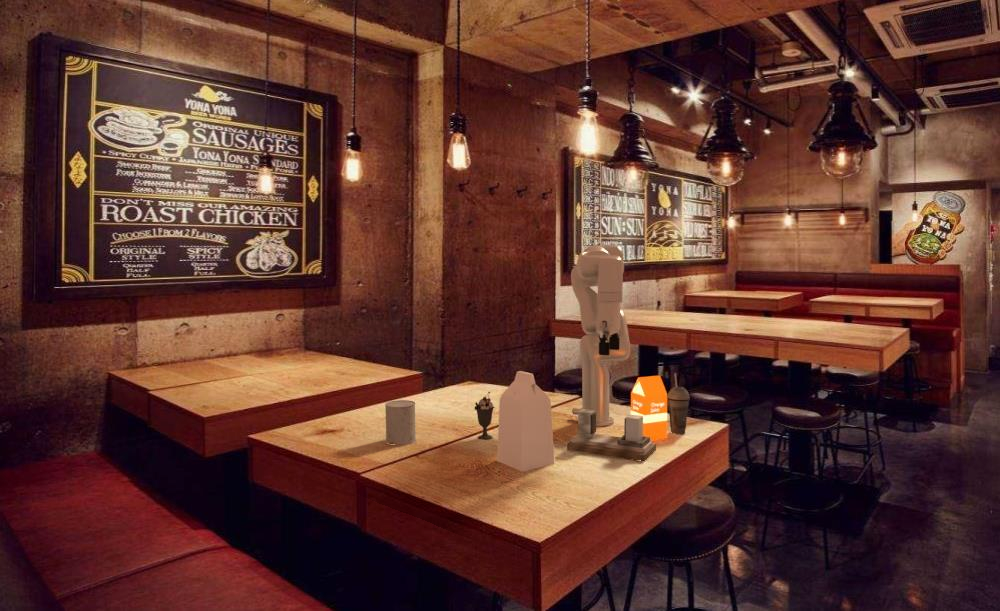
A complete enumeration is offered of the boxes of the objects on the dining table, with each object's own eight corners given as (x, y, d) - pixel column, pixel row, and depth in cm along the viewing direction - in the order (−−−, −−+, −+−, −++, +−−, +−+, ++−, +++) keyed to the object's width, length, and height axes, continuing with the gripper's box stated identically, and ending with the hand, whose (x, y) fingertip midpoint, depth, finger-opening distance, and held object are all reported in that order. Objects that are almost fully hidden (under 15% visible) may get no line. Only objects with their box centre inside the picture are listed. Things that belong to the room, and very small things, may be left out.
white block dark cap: (623, 443, 188) (624, 417, 188) (628, 440, 192) (628, 414, 191) (638, 445, 186) (638, 419, 186) (642, 442, 190) (643, 415, 189)
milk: (554, 463, 181) (554, 373, 179) (522, 471, 174) (521, 378, 172) (528, 453, 191) (528, 367, 189) (497, 460, 184) (496, 371, 182)
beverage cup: (690, 436, 207) (691, 375, 206) (667, 435, 209) (668, 374, 207) (688, 430, 214) (689, 371, 213) (666, 429, 216) (666, 371, 214)
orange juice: (630, 435, 208) (630, 375, 207) (652, 432, 212) (653, 373, 210) (644, 442, 201) (645, 379, 199) (667, 438, 204) (668, 377, 203)
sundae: (498, 435, 210) (497, 390, 208) (491, 441, 203) (490, 395, 202) (479, 434, 212) (478, 389, 211) (471, 439, 205) (471, 393, 204)
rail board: (566, 450, 193) (566, 413, 192) (581, 440, 204) (581, 405, 203) (644, 461, 182) (644, 423, 181) (655, 450, 192) (656, 414, 191)
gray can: (391, 447, 198) (390, 408, 197) (382, 439, 206) (381, 402, 206) (420, 442, 202) (419, 404, 201) (410, 435, 211) (409, 399, 210)
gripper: (607, 294, 204) (606, 346, 206) (588, 299, 189) (588, 356, 191) (630, 295, 201) (629, 348, 203) (612, 300, 185) (612, 358, 187)
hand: (609, 352), depth 197 cm, fingers open, 9 cm apart
